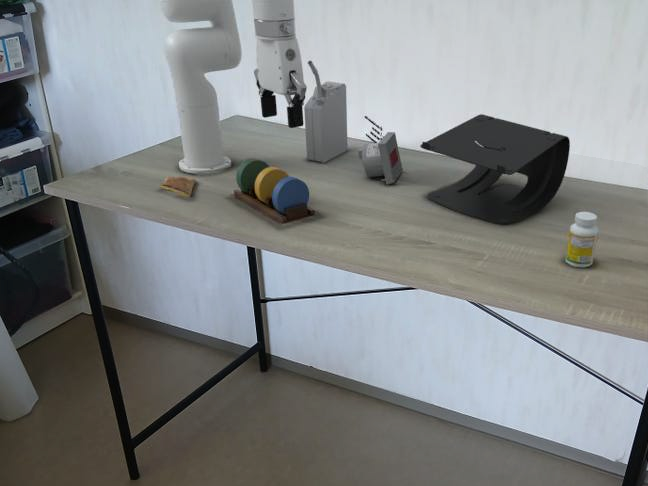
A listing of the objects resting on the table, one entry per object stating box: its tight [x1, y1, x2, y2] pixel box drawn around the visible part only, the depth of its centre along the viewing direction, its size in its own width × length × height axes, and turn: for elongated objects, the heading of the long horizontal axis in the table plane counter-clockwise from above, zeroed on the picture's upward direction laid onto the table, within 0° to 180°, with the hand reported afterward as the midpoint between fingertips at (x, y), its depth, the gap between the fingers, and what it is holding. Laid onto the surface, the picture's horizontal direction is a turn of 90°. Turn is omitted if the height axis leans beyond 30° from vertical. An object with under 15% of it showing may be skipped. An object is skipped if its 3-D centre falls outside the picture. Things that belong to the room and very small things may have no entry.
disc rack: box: [229, 186, 321, 226], centre depth 164 cm, size 22×10×3 cm, turn 41°
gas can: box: [303, 60, 348, 164], centre depth 188 cm, size 15×5×25 cm, turn 155°
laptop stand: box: [419, 113, 571, 225], centre depth 168 cm, size 26×24×16 cm
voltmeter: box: [357, 115, 403, 186], centre depth 185 cm, size 27×11×10 cm, turn 23°
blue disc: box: [272, 176, 310, 215], centre depth 157 cm, size 2×8×8 cm, turn 131°
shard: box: [159, 176, 196, 198], centre depth 170 cm, size 11×8×2 cm
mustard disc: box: [255, 166, 290, 203], centre depth 162 cm, size 2×8×8 cm, turn 131°
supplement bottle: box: [565, 211, 599, 268], centre depth 142 cm, size 5×5×10 cm
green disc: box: [235, 157, 270, 194], centre depth 166 cm, size 2×8×8 cm, turn 131°
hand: (282, 121), depth 149 cm, fingers open, 9 cm apart
